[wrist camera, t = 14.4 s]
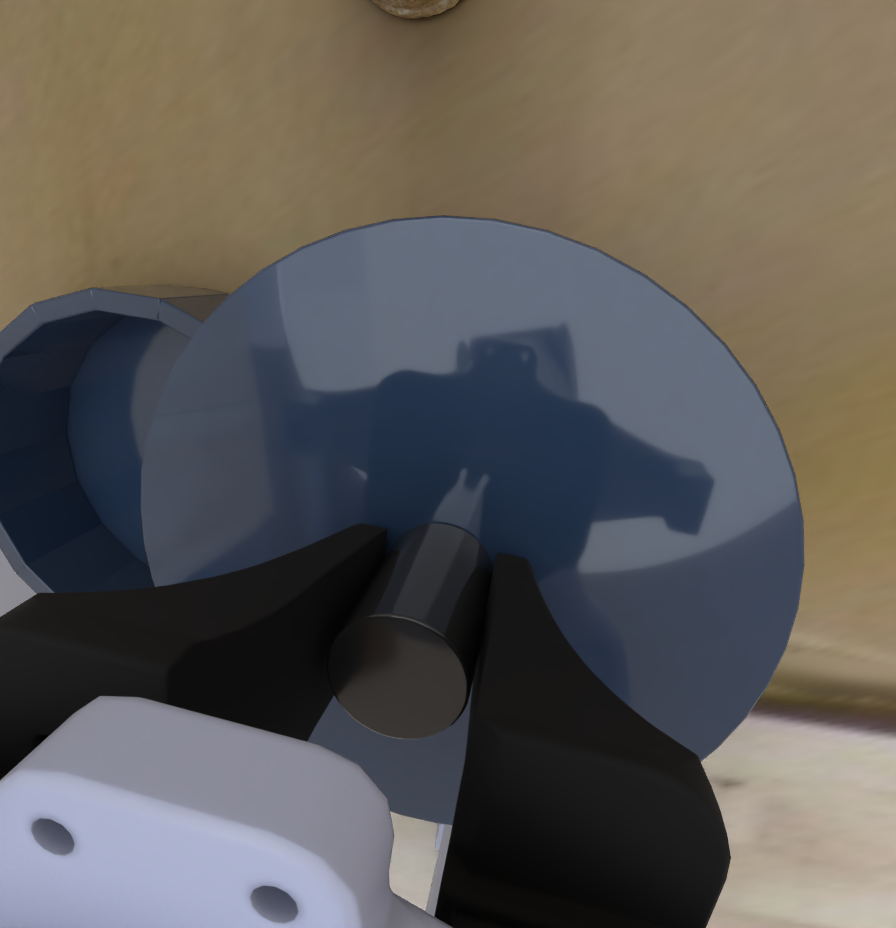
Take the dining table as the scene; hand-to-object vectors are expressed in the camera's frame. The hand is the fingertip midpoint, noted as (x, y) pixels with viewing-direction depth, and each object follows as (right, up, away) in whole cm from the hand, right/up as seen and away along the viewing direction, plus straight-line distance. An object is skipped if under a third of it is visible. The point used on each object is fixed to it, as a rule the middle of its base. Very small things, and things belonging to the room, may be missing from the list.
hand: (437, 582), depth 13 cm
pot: (-10, +3, +12) cm, 16 cm away
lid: (0, 0, +1) cm, 1 cm away
